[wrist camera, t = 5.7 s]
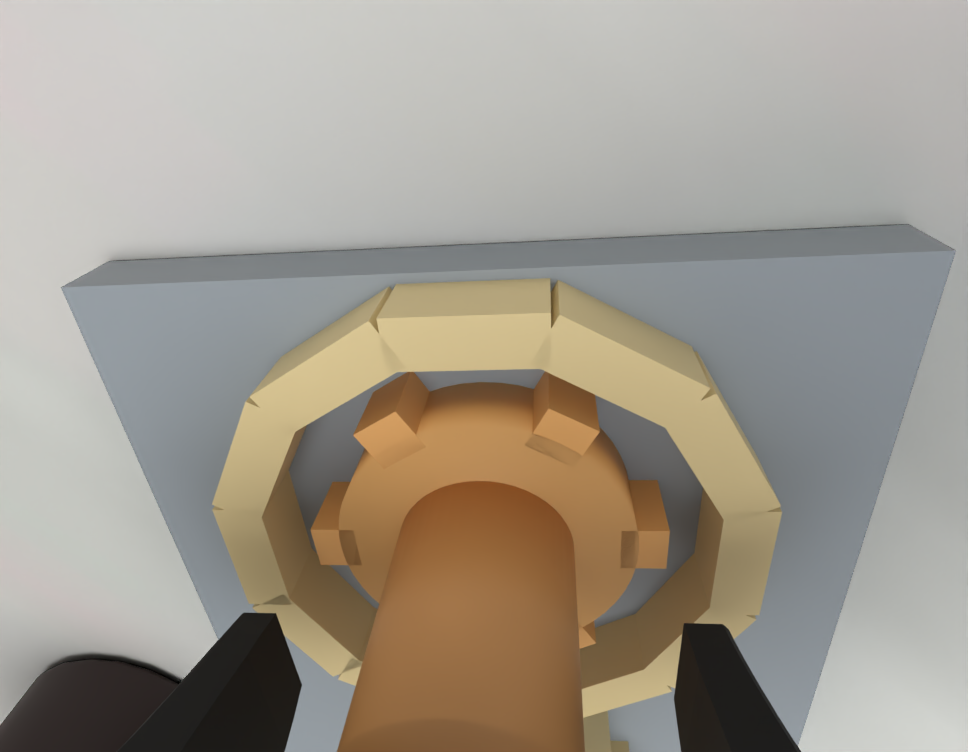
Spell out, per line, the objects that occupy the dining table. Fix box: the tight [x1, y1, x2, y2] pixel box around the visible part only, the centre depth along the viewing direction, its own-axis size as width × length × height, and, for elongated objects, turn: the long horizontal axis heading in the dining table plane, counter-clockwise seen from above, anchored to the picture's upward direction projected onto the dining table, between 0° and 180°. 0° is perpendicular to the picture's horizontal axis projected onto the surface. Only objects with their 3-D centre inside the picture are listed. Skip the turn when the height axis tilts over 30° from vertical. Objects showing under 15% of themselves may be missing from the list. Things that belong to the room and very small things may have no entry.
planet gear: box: [311, 371, 670, 752], centre depth 11 cm, size 7×7×6 cm
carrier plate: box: [61, 224, 956, 752], centre depth 15 cm, size 16×19×4 cm
